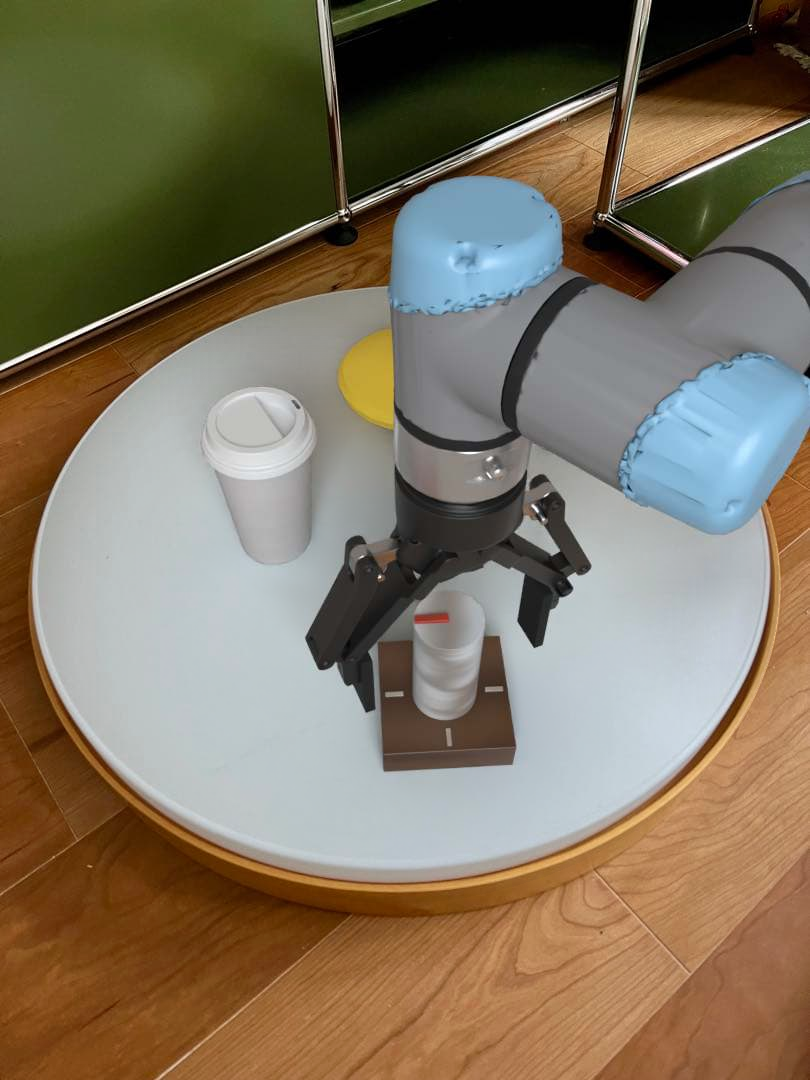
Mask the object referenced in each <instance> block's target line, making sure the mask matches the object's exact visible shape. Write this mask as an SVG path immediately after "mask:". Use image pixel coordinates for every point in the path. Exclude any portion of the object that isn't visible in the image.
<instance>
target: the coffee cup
mask: <svg viewBox="0 0 810 1080" xmlns="http://www.w3.org/2000/svg"><path fill="white" fill-rule="evenodd" d="M317 442H318V429H317V426H316V423H315V421H314V419H313V417H312V415H311V414H310V412H309V411H308V410H307V409H306V407H305V406H304V405H302V403H301V402H300V400H298V398H296V396H294V395H292V394H291V393H290V392H287V391H285V390H283V389H280V388H276V387H270V386H269V387H268V386H250V387H244V388H241V389H239V390H235V391H232V392H230V393H229V394H226V395H224V396H223V397H222V398H220V399H219V400H218V401H217V402H216V403H215V404H214V405H213V406H212V407H211V409H210V411H209V413H208V415H207V418H206V420H205V422H204V424H203V427H202V430H201V435H200V450H201V451H200V452H201V454H202V455H203V458H204V459H205V462H207V463H208V464H209V465H210V466H211V467H212V468H213V470H214V472H215V476H216V478H217V481H218V484H219V486H220V489H221V491H222V494H223V497H224V500H225V503H226V506H227V509H228V511H229V514H230V517H231V519H232V522H233V525H234V528H235V530H236V533H237V537H238V539H239V542H240V545H241V546H242V549H243V551H244V553H245V554H246V555H247V556H248V557H249V558H250V559H252V560H254V561H255V562H257V563H260V564H265V565H281V564H282V565H283V564H286V563H289V562H292V561H293V560H296V559H297V558H299V557H300V556H301V555H302V554H303V553H304V552H305V551H306V550H307V549H308V547H309V546H310V545H309V544H310V542H311V537H312V454H313V452H314V450H315V448H316V445H317Z"/></svg>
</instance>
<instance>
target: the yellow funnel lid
mask: <svg viewBox="0 0 810 1080" xmlns="http://www.w3.org/2000/svg"><path fill="white" fill-rule="evenodd" d="M337 384H338V387H339V389H340V391H341V393H342V395H343V397H344V400H345V402H346V404H347V406H349V408H351V410H353V411H354V413H356V414H357V416H359V417H361V418H362V419H364V420H366V421H367V422H369V423H371V424H372V425H376V426H379V427H382V428H385V429H387V430H391V431H394V416H393V401H394V391H393V389H394V370H393V344H392V329H391V327H387V328H384V329H380V330H378V331H376V332H374V333H371V334H368V335H366V336H365V337H363V338H362V339H360V341H358V342H357V343H355V344H354V345H353V346H352V347H351V348H350V349H348V351H347V352H346V354H345V355H343V357H342V359H341V361H340V364H339V366H338V370H337Z"/></svg>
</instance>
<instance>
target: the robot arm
mask: <svg viewBox="0 0 810 1080" xmlns="http://www.w3.org/2000/svg"><path fill="white" fill-rule="evenodd" d="M564 246H565V245H564V244H563V223H562V219H561V216H560V214H559V212H558V209H557V208H556V207H555V206H554V205H553V204H552V203H550V202H548V201H546V199H545V197H544V195H543V193H542V192H540V190H538V189H536V188H534V187H532V186H530V185H528V184H525V183H523V182H520V181H518V180H514V179H510V178H505V177H499V176H494V175H493V176H492V175H466V176H465V175H464V176H459V177H453V178H449V179H445V180H441V181H438V182H436V183H433V184H431V185H429V186H428V187H427V188H426V189H425V190H424V191H422V192H420V193H417V194H415V195H413V196H412V197H411V198H410V199H409V200H408V201H406V203H405V204H404V205H403V206H402V207H401V209H400V210H399V213H398V215H397V216H396V219H395V221H394V226H393V230H392V245H391V262H390V263H391V264H390V280H389V283H388V287H387V290H386V291H387V292H386V293H387V299H388V300H387V301H388V302H389V310H390V311H389V313H390V326H391V327H390V328H391V329H392V344H393V370H394V389H393V391H394V401H393V416H394V430H393V460H394V471H393V472H394V473H393V474H394V508H395V509H394V510H395V519H396V523H395V526H394V528H393V530H392V531H391V533H390V535H389V538H386V539H383V540H379V541H375V542H371V543H367V541H366V539H365V538H364V537H363V535H360V534H357V535H353V536H351V537H350V538H348V539H347V540H346V542H345V544H344V559H343V564H342V565H341V568H340V570H339V572H338V574H337V575H336V577H335V579H334V581H333V582H332V584H331V587H330V589H329V591H328V592H327V595H326V596H325V598H324V600H323V602H322V604H321V606H320V608H319V610H318V611H317V613H316V616H315V618H314V620H313V621H312V623H311V625H310V627H309V629H308V631H307V633H306V635H304V640H305V642H306V644H307V647H308V649H309V652H310V654H311V657H312V659H313V661H314V663H315V666H316V668H317V670H319V671H327V670H329V669H331V668H332V667H333V666H335V665H336V668H337V671H338V673H339V675H340V677H341V679H342V682H343V684H344V685H345V686H346V687H350V686H353V689H354V690H355V692H356V695H357V697H358V699H359V701H360V703H361V706H362V708H363V711H364V712H365V714H368V713H370V712H372V711H375V710H376V709H377V707H376V695H375V694H376V691H375V677H374V661H373V659H372V656H371V654H370V650H372V648H373V647H374V646H375V645H376V644H377V643H378V642H379V641H380V639H381V638H382V637H383V636H384V634H386V632H387V631H388V630H390V628H391V627H392V626H393V625H394V624H395V623H396V621H397V620H398V619H399V618H400V617H401V616H402V614H403V613H404V612H405V611H406V610H407V609H408V608H409V607H410V606H411V605H412V604H413V602H414V601H419V602H421V601H422V600H423V599H425V598H426V597H427V596H429V595H430V593H431V592H432V591H433V590H434V589H435V588H436V587H437V585H438V584H441V583H444V582H447V581H450V580H452V579H454V578H456V577H458V576H460V575H462V574H466V573H473V572H475V571H478V570H481V569H483V568H484V567H485V565H486V564H487V563H489V562H493V563H496V564H497V565H499V566H502V567H503V568H506V569H507V570H510V569H511V568H513V569H515V570H517V571H518V572H520V573H522V574H523V575H524V576H523V581H522V588H521V595H520V601H519V608H518V612H517V620H516V623H518V625H519V627H520V628H521V630H522V632H523V633H524V635H525V636H526V638H527V639H528V641H529V643H530V644H531V646H532V648H533V649H537V648H539V647H542V646H543V645H544V641H545V637H546V631H547V627H548V622H549V617H550V613H551V610H554V609H556V608H557V607H558V605H559V602H560V598H562V599H563V598H565V597H568V596H569V595H570V594H571V593H572V592H573V591H574V586H573V585H572V583H571V581H570V580H569V579H568V577H570V576H572V575H573V574H575V575H577V576H579V577H581V576H584V575H586V574H588V573H589V571H591V570H592V563H591V562H590V560H589V558H588V557H587V554H585V552H584V550H583V548H582V546H581V545H580V543H579V542H578V540H577V538H576V537H575V535H574V534H573V533H574V532H572V530H571V529H570V527H569V525H568V524H567V522H566V520H565V519H566V500H565V499H564V498H563V497H562V495H561V494H560V493H559V491H558V490H557V489H556V487H555V486H554V485H553V483H552V481H551V480H550V479H549V477H548V476H547V475H546V474H544V473H539V474H537V475H535V476H534V477H532V478H531V480H530V481H529V485H528V486H529V490H527V489H526V488H527V481H528V468H529V462H530V457H531V449H532V443H533V444H536V445H537V446H539V447H541V448H542V449H544V450H546V451H548V452H550V453H552V454H553V455H555V456H557V457H558V458H560V459H562V460H564V461H566V462H567V463H569V464H571V465H572V466H574V467H576V468H578V469H580V471H583V472H585V473H586V474H588V475H590V476H592V477H594V478H595V479H597V480H598V481H601V483H602V482H603V483H604V484H606V485H608V486H610V487H611V488H613V489H615V490H616V491H618V492H620V493H621V494H623V495H624V496H625V498H626V499H628V500H630V501H631V502H633V503H636V504H637V505H638V506H640V507H645V508H651V509H654V510H656V511H658V512H659V513H662V514H664V515H666V516H669V517H671V518H672V519H674V520H677V521H679V522H681V523H683V524H685V525H688V526H690V527H692V528H694V529H696V530H698V531H700V532H703V533H705V534H708V535H713V536H724V535H728V534H731V533H734V532H736V531H738V530H740V529H741V528H743V527H744V526H745V525H747V523H748V522H750V521H751V520H752V518H754V517H755V516H756V514H757V513H758V512H759V511H760V509H761V508H762V507H763V506H764V504H765V503H766V501H767V500H768V499H769V496H771V494H772V492H773V490H774V488H775V487H776V485H777V484H778V483H779V482H780V481H781V479H782V478H783V477H784V475H785V472H786V471H787V470H788V468H789V466H790V465H791V463H792V462H793V460H794V458H795V456H796V455H797V453H798V451H799V449H800V448H801V446H802V443H803V441H804V439H805V437H806V436H807V433H808V432H809V430H810V378H809V377H808V376H806V375H805V373H806V372H807V371H808V369H809V368H810V169H808V170H805V171H802V172H800V173H798V174H796V175H794V176H792V177H791V178H789V179H787V180H786V181H784V182H783V183H782V184H780V185H777V186H775V187H773V188H772V189H770V191H768V192H767V193H765V194H763V195H762V196H760V197H757V198H756V199H755V200H753V201H752V202H751V203H749V205H748V206H747V207H746V209H744V210H743V211H742V212H741V213H740V215H738V217H737V218H736V219H735V220H734V222H733V223H731V224H730V225H729V226H728V227H727V228H726V229H724V230H723V231H722V232H721V233H720V234H719V235H718V236H717V237H716V238H715V239H714V240H712V241H711V242H710V243H709V244H708V245H707V246H705V247H704V248H703V249H702V251H700V252H699V253H698V254H697V255H696V256H695V257H693V258H692V259H691V261H689V262H688V263H687V264H686V265H685V266H683V268H681V269H680V270H679V271H678V272H676V274H674V275H673V276H672V277H670V278H669V280H667V281H666V282H665V283H664V284H663V285H661V286H660V287H659V288H658V289H657V290H656V291H655V292H653V293H652V294H651V295H650V296H649V297H648V298H647V299H645V300H644V301H643V300H640V299H638V298H636V297H633V296H631V295H628V294H627V293H624V292H622V291H619V290H617V289H614V288H613V287H610V286H608V285H605V284H603V283H600V282H598V281H596V280H594V279H591V278H590V277H588V276H587V275H584V274H582V273H580V272H577V271H575V270H573V269H570V268H567V267H566V266H564V265H562V264H563V263H562V262H563V261H564V260H563V255H564V248H563V247H564ZM526 490H527V491H526ZM525 516H529V519H531V520H532V521H538V522H539V524H540V525H542V526H543V527H544V528H545V530H546V532H547V533H548V535H549V536H550V537H551V539H552V541H553V542H554V543H555V545H556V547H557V548H558V550H559V551H558V552H555V553H554V554H553V555H552V554H551V553H550V552H548V551H547V550H544V549H543V548H541V547H540V546H538V545H536V544H534V543H533V542H531V541H529V540H527V539H526V538H524V537H522V536H520V535H519V534H517V533H516V531H517V530H518V529H519V527H520V526H521V525H522V523H523V521H524V517H525ZM416 574H418V575H419V576H418V577H417V576H416Z"/></svg>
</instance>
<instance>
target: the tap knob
mask: <svg viewBox="0 0 810 1080" xmlns="http://www.w3.org/2000/svg"><path fill="white" fill-rule="evenodd" d="M412 626H413V628H412V629H413V630H412V640H413V678H412V694H413V699H414V702H415V704H416V705H417V707H418V708H419V709H420V710H421V711H422V712H423V713H424V714H426V715H427V716H429V717H431V718H434V719H438V720H453V719H456V718H459V717H461V716H463V715H464V714H466V713H467V712H468V711H469V710H470V709H471V708H472V706H473V704H474V702H475V699H476V693H477V685H478V677H479V670H480V662H481V654H482V646H483V638H484V636H485V629H486V615H485V612H484V610H483V607H482V606H481V605H480V603H479V602H478V601H477V600H475V599H474V598H473V597H472V596H470V595H468V594H466V593H465V592H461V591H456V590H441V591H440V590H439V591H436V592H433V593H431V594H428V595H427V596H426V597H425V599H423V600H422V601H419V603H418V605H416V608H415V610H414V613H413V625H412Z"/></svg>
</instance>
